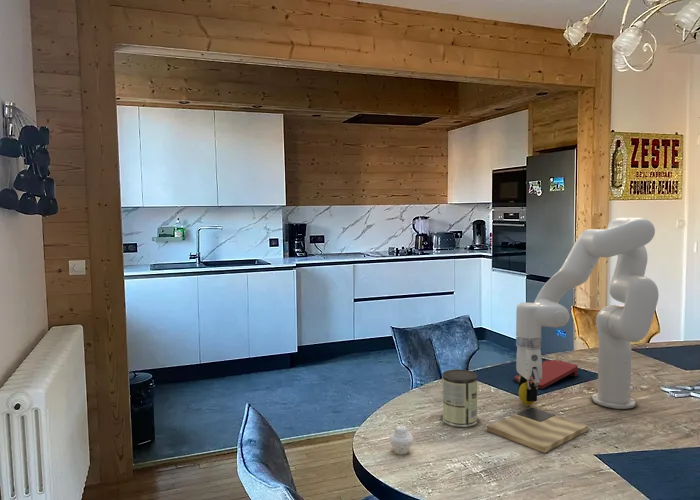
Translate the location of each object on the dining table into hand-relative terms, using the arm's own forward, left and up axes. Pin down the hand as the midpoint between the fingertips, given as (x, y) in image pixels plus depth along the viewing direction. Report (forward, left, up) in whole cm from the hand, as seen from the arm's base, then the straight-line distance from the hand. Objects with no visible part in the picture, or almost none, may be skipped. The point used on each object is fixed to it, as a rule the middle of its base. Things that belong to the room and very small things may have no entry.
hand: (527, 397), depth 171 cm
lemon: (0, 0, -3) cm, 3 cm away
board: (+15, +13, -3) cm, 20 cm away
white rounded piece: (+54, -2, -3) cm, 54 cm away
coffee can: (+26, -6, -3) cm, 27 cm away
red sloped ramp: (-30, -11, -3) cm, 32 cm away
